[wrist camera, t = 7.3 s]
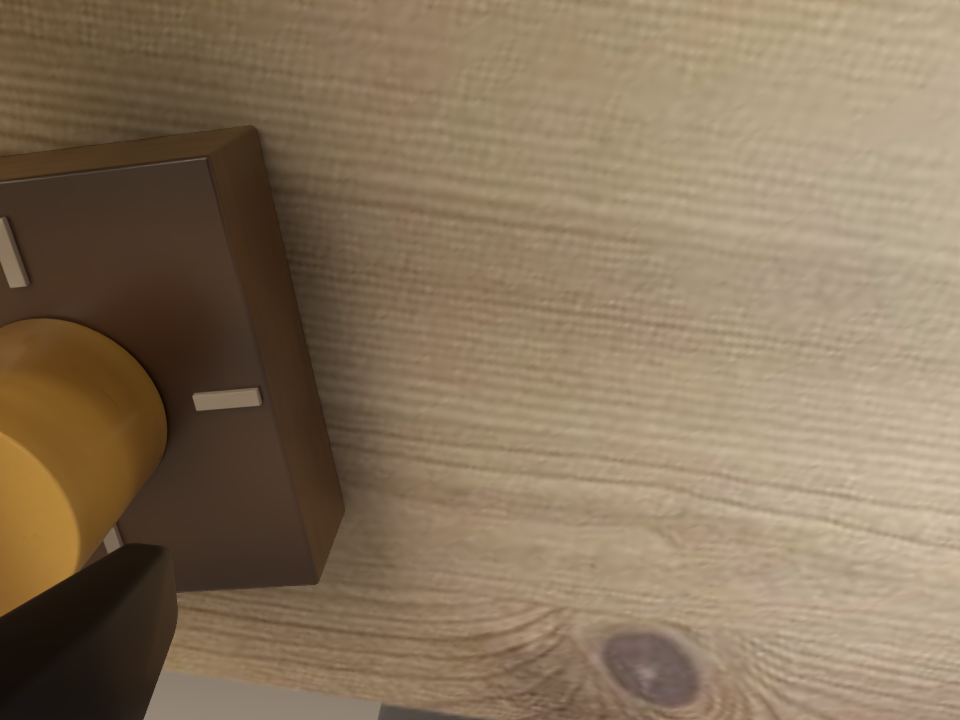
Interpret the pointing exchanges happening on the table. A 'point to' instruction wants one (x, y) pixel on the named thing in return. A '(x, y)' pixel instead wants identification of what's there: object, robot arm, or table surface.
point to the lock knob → (67, 449)
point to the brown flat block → (187, 342)
